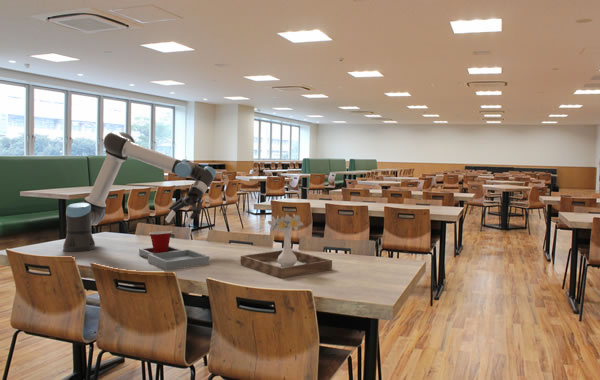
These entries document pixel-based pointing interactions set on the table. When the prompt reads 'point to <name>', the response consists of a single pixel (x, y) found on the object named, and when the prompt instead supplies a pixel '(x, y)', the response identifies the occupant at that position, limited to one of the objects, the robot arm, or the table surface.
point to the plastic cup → (160, 241)
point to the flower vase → (286, 237)
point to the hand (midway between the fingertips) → (176, 222)
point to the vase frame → (313, 266)
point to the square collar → (146, 251)
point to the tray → (178, 259)
